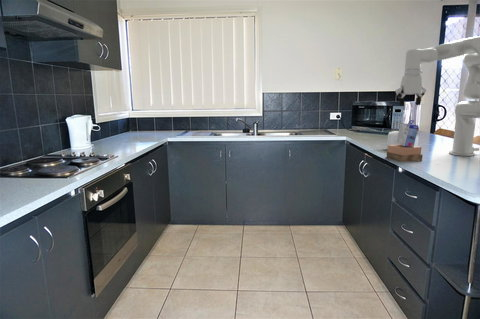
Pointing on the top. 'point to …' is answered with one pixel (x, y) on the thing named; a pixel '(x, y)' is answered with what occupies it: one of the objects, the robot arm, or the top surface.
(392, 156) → the tower base
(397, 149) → the tower top
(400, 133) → the ink cartridge box
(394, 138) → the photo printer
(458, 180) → the top surface
